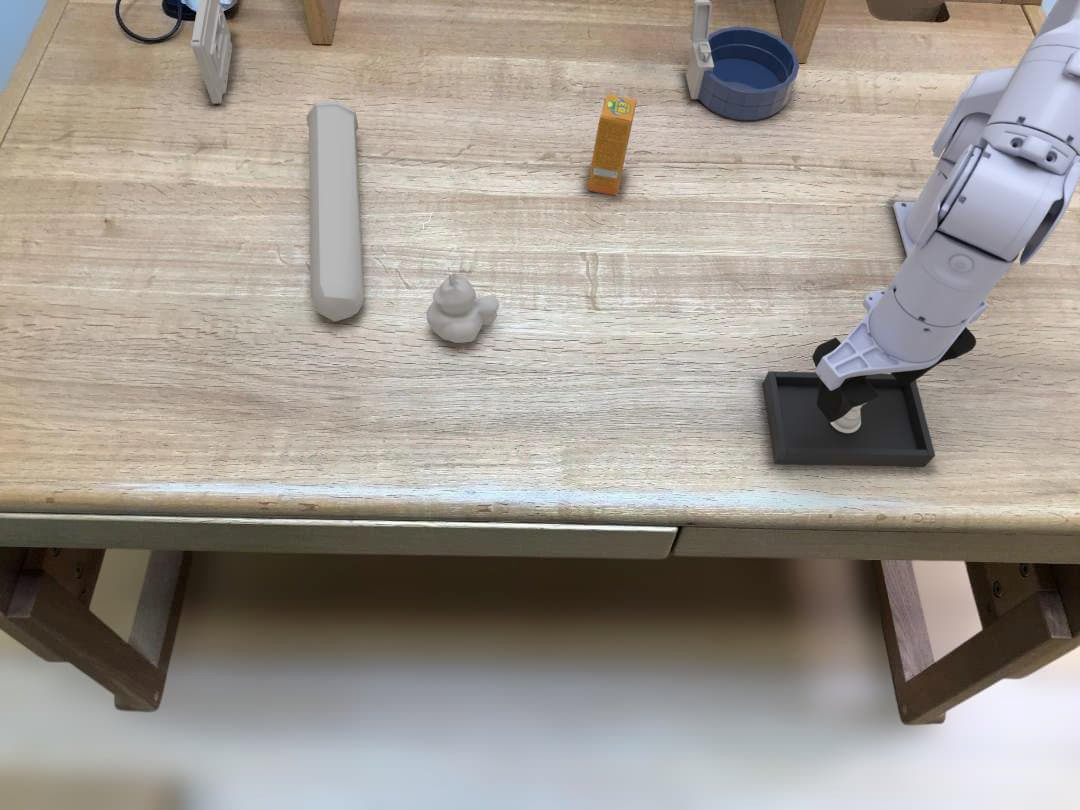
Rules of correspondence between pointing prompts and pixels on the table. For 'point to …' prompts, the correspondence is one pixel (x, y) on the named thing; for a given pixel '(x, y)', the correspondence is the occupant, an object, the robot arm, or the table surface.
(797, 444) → the tray
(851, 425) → the chess pawn
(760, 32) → the bowl
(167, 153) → the table surface
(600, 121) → the supplement box
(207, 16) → the cassette
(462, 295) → the rubber duck
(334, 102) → the tube
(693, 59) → the lighter
